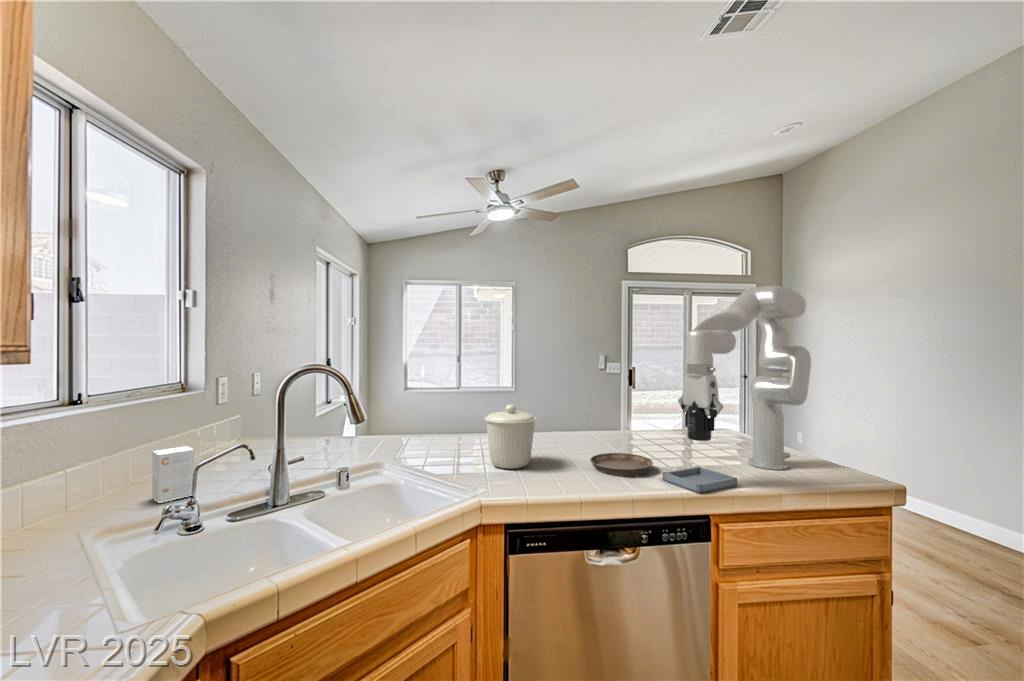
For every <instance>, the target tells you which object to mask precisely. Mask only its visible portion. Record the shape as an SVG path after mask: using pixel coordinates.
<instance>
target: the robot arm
mask: <svg viewBox="0 0 1024 681" xmlns="http://www.w3.org/2000/svg"><path fill="white" fill-rule="evenodd" d="M806 309H807V303H806V300H805V298H804V297H803V295H802V294H801V293H799V292H797V291H794V290H793V289H790V288H788V287H784V286H782V285H766V286H757V287H756V286H754V287H749V288H747V289H745V290H743V292H741V294H740V295H739V296H738V297H737V298H736V299H735V300H734V301H733V302H732V303H731V304H730V305H729V306H728V307H727V308H726V309H724V310H721V311H719V312H717V313H716V314H713V315H711V316H709V317H707V318H705V319H704V320H702V321H701V322H699V323H698V324H697V325H696V326H695V327H694V328H693V329H691V330H688V332H687V335H686V374H684V380H683V386H682V395H681V397H680V398H678V399H677V402H678V404H679V405H680V408H681V410H682V411H683V414H684V416H685V417H684V418H685V420H684V426H685V428H687V420H688V410H689V409H690V408H691V407H692V405H691V404H693V403H694V402H696V404H697V405H698V406H697V407H699V408H702V409H704V410H705V413H706V415H707V418H705V431H707V432H708V431H711V432H714V431H715V418H717V416H718V415H719V414H720V413H721V411H722V410H723V409H724V405H723V404H722V403H721V402H720V399H719V398H720V397H719V388H718V387H719V386H718V385H719V384H718V381H717V377H716V376H717V375H714V373H716V370H717V369H716V367H714V355H726V354H729V353H731V352H732V351H733V350H734V349H735V348H736V346H737V339H736V336H735V334H734V332H738V331H740V330H744V329H746V328H747V327H748V326H749V325H751V323H752V322H753V321H754V320H755V319H756V321H757V323H758V325H759V327H760V330H761V339H760V347H759V355H758V366H759V368H760V369H761V370H763V371H765V372H769V373H781V374H789V376H783V375H782V376H781V375H770V374H769V375H767V374H766V375H765V374H762V375H757V376H755V377H754V378H752V379H751V381H750V384H749V391H750V397H751V401H752V418H753V419H752V457H750V458H748V459H747V464H748V465H750V466H752V467H755V468H756V467H757V468H758V469H759V468H760V469H765V470H766V469H767V470H775V471H776V470H777V471H778V470H779V471H781V470H782V471H783V469H784V470H787V469H789V468H790V464H789V463H788V462H786V461H785V460H786V459H789V458H791V453H790V452H788V451H787V452H785V451H784V450H785V449H784V448H785V445H784V444H785V443H784V442H785V416H784V412H783V411H782V409H781V407H780V406H779V404H780V405H787V406H801V405H803V404H804V403H805V402H806V401H807V398H808V395H809V394H808V393H809V386H810V377H811V375H810V374H811V370H812V369H811V368H812V356H811V354H810V352H809V350H808V349H807V347H804V346H802V345H801V346H800V345H789V339H790V332H789V329H788V328H787V326H786V325H785V323H784V322H783V320H781V319H796V318H800V317H801V316H802V315H804V314H805V312H806ZM709 410H710V411H709ZM710 412H711V413H710Z"/></svg>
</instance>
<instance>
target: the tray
mask: <svg viewBox="0 0 1024 681" xmlns="http://www.w3.org/2000/svg"><path fill="white" fill-rule="evenodd" d="M662 481H663V482H665V481H666V482H665V483H668V484H671V485H674V486H676V487H679V488H681V489H685V490H687V491H689V492H693V493H695V494H699V495H701V494H706V493H711V492H712V493H713V492H717V491H722V490H725V489H732V488H736V487H738V477H735V476H732V475H728V474H725V473H722V472H718V471H715V470H712V469H709V468H706V467H702V466H694V467H687V468H683V469H682V468H681V469H674V470H669V471H664V472H662ZM731 487H732V488H731Z"/></svg>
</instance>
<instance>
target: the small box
mask: <svg viewBox="0 0 1024 681" xmlns="http://www.w3.org/2000/svg"><path fill="white" fill-rule="evenodd" d="M151 458H152V459H151V460H152V463H151V464H152V465H151V467H152V468H151V469H152V471H151V472H152V475H151V476H152V481H151V482H152V486H151V487H152V490H151V491H152V492H151V493H152V495H151V496H153V497H154V498H155V499H156V500H157V501H165V500H170V499H173V498H177V497H185V496H190V494H191V488H192V479H193V473H194V474H195V449H193V448H192V447H190V446H188V445H183V446H179V447H172V448H165V449H159V450H152V455H151Z"/></svg>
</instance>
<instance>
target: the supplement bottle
mask: <svg viewBox="0 0 1024 681" xmlns="http://www.w3.org/2000/svg"><path fill="white" fill-rule="evenodd" d="M691 405H692V407H691V408H690V409H689V410H688V420H687V427H686V428H687V429H686V430H687V432H686V435H687V438H688V440H691V441H696V442H697V441H698V442H699V441H700V442H708V441H711V440H712V431H708V432H707V431H705V418H707V415H706V413H705V410H704V409H702V408H699V407H697V406H698V405H697V404H696V402H694V403H693V404H691ZM709 411H710V410H709ZM710 413H711V412H710Z"/></svg>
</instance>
